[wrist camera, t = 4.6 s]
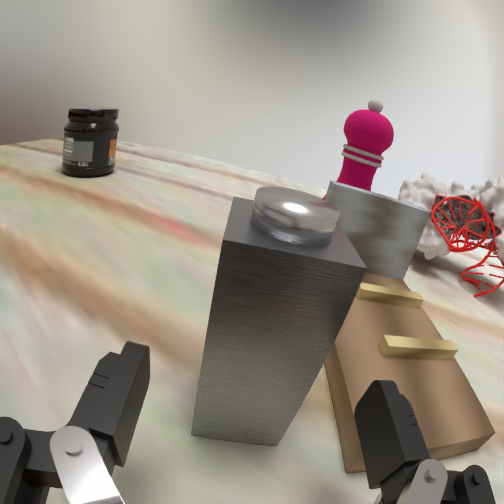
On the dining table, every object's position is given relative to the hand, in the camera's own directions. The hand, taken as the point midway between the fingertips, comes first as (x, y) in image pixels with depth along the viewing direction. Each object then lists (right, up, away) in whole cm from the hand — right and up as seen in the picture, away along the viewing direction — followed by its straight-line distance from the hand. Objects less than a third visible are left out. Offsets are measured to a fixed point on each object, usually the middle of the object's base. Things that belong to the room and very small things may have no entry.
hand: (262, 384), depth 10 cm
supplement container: (-31, +19, +41) cm, 55 cm away
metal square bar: (-1, -4, +6) cm, 7 cm away
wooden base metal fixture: (+10, -3, +13) cm, 17 cm away
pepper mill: (+10, +4, +29) cm, 31 cm away
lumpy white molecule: (+31, +1, +32) cm, 45 cm away
